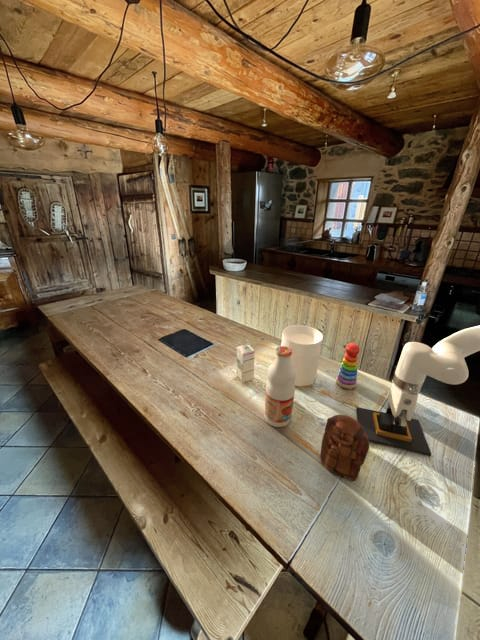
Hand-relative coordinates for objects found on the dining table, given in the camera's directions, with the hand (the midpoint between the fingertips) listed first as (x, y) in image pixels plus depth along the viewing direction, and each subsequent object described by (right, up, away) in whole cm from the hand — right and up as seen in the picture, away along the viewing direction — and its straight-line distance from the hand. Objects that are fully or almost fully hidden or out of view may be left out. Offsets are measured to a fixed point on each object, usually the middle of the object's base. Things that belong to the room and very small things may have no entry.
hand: (391, 424), depth 88 cm
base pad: (0, -2, +1) cm, 3 cm away
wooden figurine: (-22, -8, -11) cm, 26 cm away
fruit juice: (-37, 0, +6) cm, 37 cm away
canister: (-25, +11, +28) cm, 39 cm away
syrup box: (-48, +10, +26) cm, 55 cm away
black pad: (0, 0, 0) cm, 0 cm away
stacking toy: (-6, +8, +23) cm, 25 cm away
